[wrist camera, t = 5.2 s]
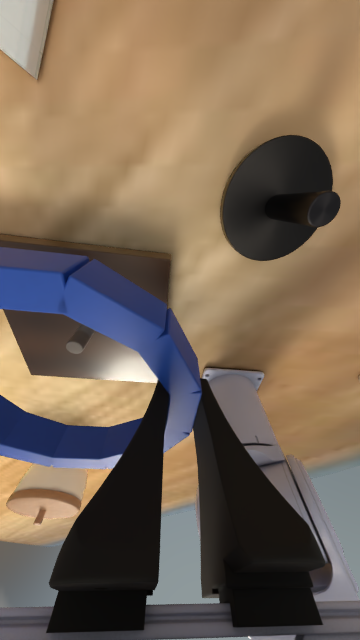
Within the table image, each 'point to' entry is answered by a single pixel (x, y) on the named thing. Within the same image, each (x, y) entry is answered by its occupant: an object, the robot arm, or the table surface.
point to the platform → (75, 338)
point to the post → (278, 198)
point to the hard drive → (25, 31)
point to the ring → (112, 321)
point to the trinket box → (49, 493)
